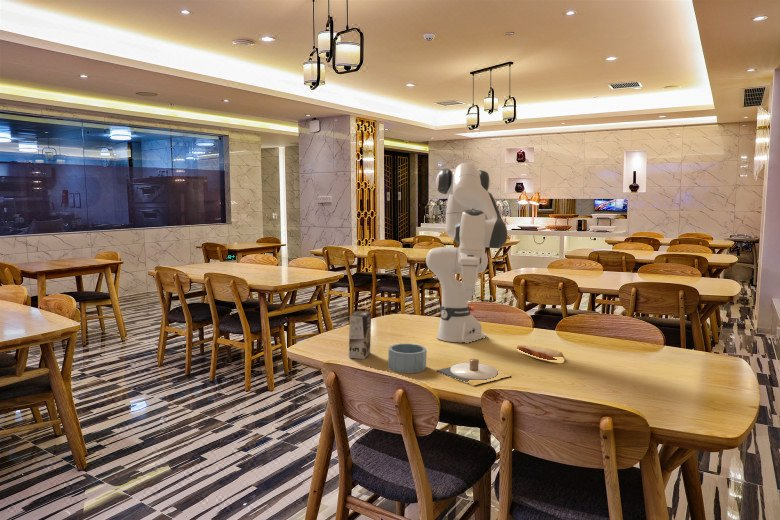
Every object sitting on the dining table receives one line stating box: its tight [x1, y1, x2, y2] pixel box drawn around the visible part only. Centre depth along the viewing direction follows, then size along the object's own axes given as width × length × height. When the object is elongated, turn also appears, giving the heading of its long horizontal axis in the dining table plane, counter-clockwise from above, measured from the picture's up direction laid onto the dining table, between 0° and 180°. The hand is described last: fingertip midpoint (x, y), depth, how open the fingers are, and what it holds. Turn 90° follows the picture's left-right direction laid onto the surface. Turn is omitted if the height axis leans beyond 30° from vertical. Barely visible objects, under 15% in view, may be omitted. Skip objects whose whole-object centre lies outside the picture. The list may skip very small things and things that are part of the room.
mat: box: [436, 366, 469, 382], centre depth 190 cm, size 18×18×1 cm
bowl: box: [387, 343, 427, 374], centre depth 195 cm, size 13×13×7 cm
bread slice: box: [516, 344, 565, 360], centre depth 214 cm, size 18×18×4 cm
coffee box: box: [348, 310, 372, 360], centre depth 208 cm, size 9×6×16 cm
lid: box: [450, 358, 499, 380], centre depth 190 cm, size 16×16×4 cm
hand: (469, 298), depth 189 cm, fingers open, 8 cm apart
